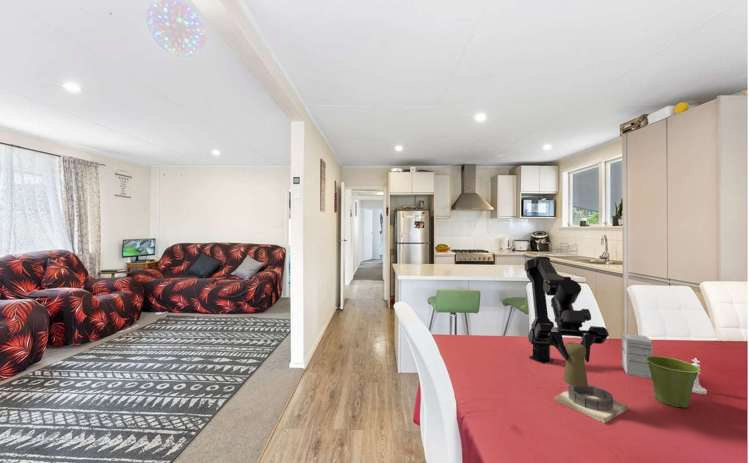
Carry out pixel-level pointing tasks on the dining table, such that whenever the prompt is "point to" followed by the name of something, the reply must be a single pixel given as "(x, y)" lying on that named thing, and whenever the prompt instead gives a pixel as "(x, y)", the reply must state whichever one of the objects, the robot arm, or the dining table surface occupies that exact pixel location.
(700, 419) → the dining table surface
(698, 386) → the chess piece
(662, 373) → the plant pot
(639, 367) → the supplement box
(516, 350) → the dining table surface
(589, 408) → the collar board
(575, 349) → the cork
